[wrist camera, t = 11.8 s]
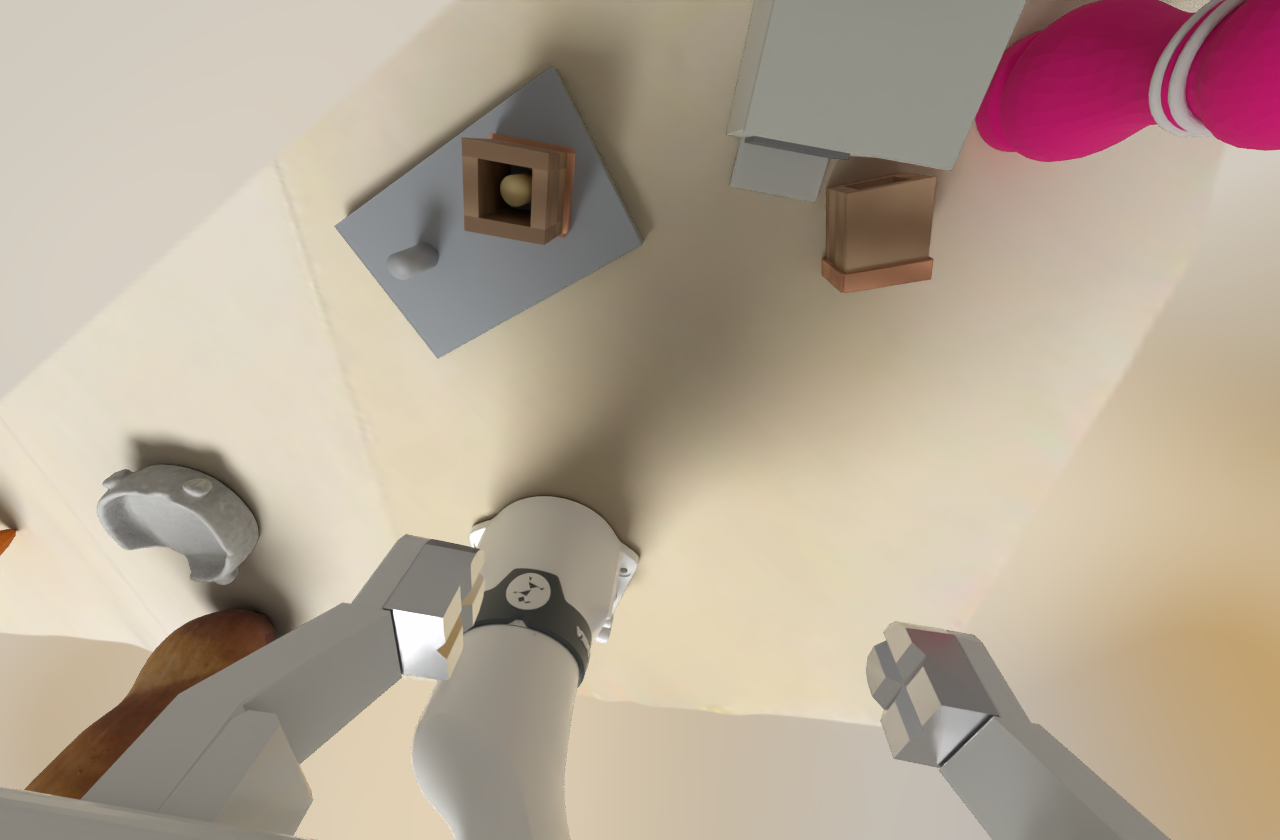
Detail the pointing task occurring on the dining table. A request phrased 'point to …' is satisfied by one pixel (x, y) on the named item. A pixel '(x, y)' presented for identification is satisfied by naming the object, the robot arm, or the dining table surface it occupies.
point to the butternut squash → (155, 695)
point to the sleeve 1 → (549, 188)
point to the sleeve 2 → (879, 232)
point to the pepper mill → (1138, 78)
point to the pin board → (483, 264)
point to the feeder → (860, 85)
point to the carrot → (6, 538)
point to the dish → (180, 518)
